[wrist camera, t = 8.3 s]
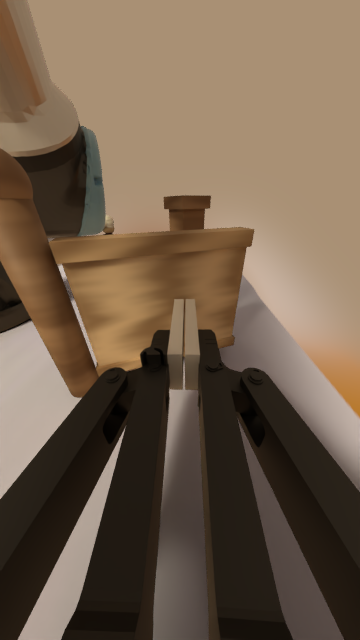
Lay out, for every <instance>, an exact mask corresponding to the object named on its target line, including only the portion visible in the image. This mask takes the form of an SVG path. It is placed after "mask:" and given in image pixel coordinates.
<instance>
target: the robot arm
mask: <svg viewBox="0 0 360 640" xmlns="http://www.w3.org/2000/svg"><path fill="white" fill-rule="evenodd" d="M0 148H1V149H3V150H4V151H6V152H7V153H8V154H10V155H11V156H12V157H13V158H14V159H15V160H16V161H17V162H18V163H19V164H20V165H21V166H22V168H23V169H24V170H25V172H26V174H27V175H28V177H29V179H30V182H31V185H32V189H33V202H34V204H35V207H36V210H37V212H38V215H39V218H40V220H41V223H42V226H43V228H44V231H45V234H46V236H47V238H61V237H79V236H86V235H94V234H98V233H100V232H102V231H103V229H104V227H105V221H106V214H105V198H104V188H103V184H102V169H101V161H100V155H99V149H98V144H97V140H96V136H95V134H94V133H93V131H91V130H89V129H87V128H86V127H84V126H81V127H80V124H79V120H78V115H77V112H76V109H75V108H74V105H73V103H72V102H71V101H70V99H69V98H68V97H67V96H66V95H65V94H64V93H63V92H62V91H61V90H60V89H59V88H58V87H57V86H56V85H55V84H54V83H53V82H52V81H51V79H50V75H49V72H48V68H47V65H46V62H45V59H44V55H43V52H42V48H41V45H40V42H39V38H38V35H37V32H36V28H35V26H34V22H33V18H32V15H31V12H30V8H29V5H28V2H27V0H0ZM28 319H30V316H29V314H28V312H27V310H26V308H25V306H24V304H23V303H22V301H21V299H20V297H19V295H18V293H17V291H16V289H15V288H14V286H13V284H12V282H11V280H10V278H9V276H8V274H7V273H6V271H5V269H4V267H3V265H2V263H1V261H0V332H2V331H4V330H7V329H9V328H12V327H14V326H16V325H18V324H20V323H22V322H24V321H26V320H28ZM183 354H184V299H174V307H173V314H172V322H171V329H170V330H157V331H156V332H155V333H154V335H153V338H152V342H151V346H150V347H148V348H145V349H144V350H143V351H142V352H141V353H140V359H141V364H142V367H140V368H138V369H136V370H133V371H129V372H126V371H125V370H124V369H122V368H120V367H114V368H110V369H108V370H106V371H105V372H103V373H102V374H101V375H100V377H99V378H98V379H97V380H96V382H95V383H94V384H93V385H92V387H91V388H90V389H89V390H88V392H87V393H86V394H85V395H84V396H83V398H82V399H81V400H80V401H79V403H78V404H77V405H76V406H75V408H74V409H73V410H72V411H71V413H70V414H69V415H68V416H67V418H66V419H65V420H64V421H63V422H62V424H61V425H60V426H59V427H58V429H57V430H56V431H55V432H54V434H53V435H52V436H51V437H50V439H49V440H48V441H47V442H46V444H45V445H44V446H43V447H42V448H41V450H40V451H39V452H38V453H37V455H36V456H35V457H34V458H33V460H32V461H31V462H30V463H29V465H28V466H27V467H26V468H25V470H24V471H23V472H22V473H21V475H20V476H19V477H18V478H17V479H16V481H15V482H14V483H13V484H12V486H11V487H10V488H9V489H8V491H7V492H6V493H5V494H4V496H3V497H2V498H1V499H0V640H18V638H19V636H20V634H21V632H22V630H23V628H24V626H25V624H26V622H27V620H28V618H29V616H30V614H31V612H32V610H33V608H34V606H35V604H36V602H37V600H38V598H39V596H40V594H41V592H42V590H43V588H44V586H45V584H46V582H47V580H48V578H49V576H50V574H51V572H52V571H53V569H54V567H55V565H56V563H57V561H58V559H59V557H60V555H61V553H62V551H63V549H64V547H65V545H66V543H67V541H68V539H69V537H70V535H71V533H72V531H73V529H74V527H75V525H76V523H77V521H78V519H79V517H80V515H81V513H82V511H83V509H84V507H85V505H86V503H87V501H88V499H89V498H90V496H91V494H92V492H93V490H94V488H95V486H96V484H97V482H98V480H99V478H100V476H101V474H102V472H103V470H104V468H105V466H106V464H107V462H108V460H109V458H110V456H111V454H112V452H113V450H114V448H115V446H116V444H117V442H118V440H119V438H120V436H121V434H122V432H123V430H124V428H125V427H126V428H125V432H124V436H123V439H122V443H121V447H120V451H119V454H118V458H117V462H116V466H115V469H114V473H113V477H112V481H111V484H110V488H109V492H108V496H107V499H106V503H105V507H104V511H103V514H102V518H101V522H100V526H99V529H98V533H97V537H96V541H95V544H94V548H93V552H92V556H91V560H90V563H89V567H88V571H87V575H86V578H85V582H84V586H83V590H82V593H81V596H80V599H79V602H78V605H77V607H76V610H75V612H74V614H73V616H72V618H71V620H70V621H69V623H68V625H67V627H66V629H65V631H64V634H63V636H62V639H61V640H153V606H154V592H155V579H156V566H157V553H158V540H159V527H160V514H161V502H162V489H163V476H164V463H165V450H166V437H167V424H168V411H169V388H170V389H173V390H183ZM185 390H198V407H199V426H200V446H201V467H202V487H203V508H204V529H205V549H206V570H207V590H208V614H209V640H293V638H292V636H291V634H290V632H289V629H288V627H287V625H286V623H285V620H284V617H283V613H282V610H281V606H280V602H279V598H278V594H277V590H276V585H275V581H274V577H273V572H272V568H271V563H270V559H269V555H268V550H267V546H266V542H265V537H264V533H263V529H262V524H261V520H260V515H259V511H258V507H257V502H256V498H255V494H254V489H253V485H252V481H251V476H250V472H249V467H248V463H247V459H246V454H245V450H244V446H243V441H242V437H241V433H240V428H239V424H238V420H239V422H240V424H241V426H242V428H243V430H244V432H245V434H246V436H247V438H248V440H249V442H250V445H251V447H252V449H253V451H254V453H255V455H256V457H257V459H258V461H259V463H260V465H261V467H262V470H263V472H264V474H265V476H266V478H267V480H268V482H269V484H270V486H271V488H272V490H273V492H274V494H275V497H276V499H277V501H278V503H279V505H280V507H281V509H282V511H283V513H284V515H285V517H286V519H287V521H288V524H289V526H290V528H291V530H292V532H293V534H294V536H295V538H296V540H297V542H298V544H299V546H300V549H301V551H302V553H303V555H304V557H305V559H306V561H307V563H308V565H309V567H310V569H311V571H312V573H313V576H314V578H315V580H316V582H317V584H318V586H319V588H320V590H321V592H322V594H323V596H324V598H325V600H326V603H327V605H328V607H329V609H330V611H331V613H332V615H333V617H334V619H335V621H336V623H337V625H338V627H339V630H340V632H341V634H342V636H343V638H344V640H360V492H359V491H358V490H357V488H356V487H355V486H354V484H353V483H352V482H351V481H350V479H349V478H348V477H347V476H346V474H345V473H344V472H343V470H342V469H341V468H340V467H339V465H338V464H337V463H336V461H335V460H334V459H333V458H332V456H331V455H330V454H329V453H328V451H327V450H326V449H325V447H324V446H323V445H322V444H321V442H320V441H319V440H318V439H317V437H316V436H315V435H314V433H313V432H312V431H311V430H310V428H309V427H308V426H307V425H306V423H305V422H304V421H303V419H302V418H301V417H300V416H299V414H298V413H297V412H296V411H295V409H294V408H293V407H292V405H291V404H290V403H289V402H288V400H287V399H286V398H285V397H284V395H283V394H282V393H281V391H280V390H279V389H278V388H277V386H276V385H275V384H274V383H273V381H272V380H271V379H270V377H269V376H268V375H267V374H266V373H265V372H263V371H261V370H260V369H256V368H247V369H245V370H244V371H243V372H238V371H234V370H231V369H229V368H227V367H226V366H225V365H224V363H223V362H222V361H221V357H220V353H219V348H218V344H217V340H216V335H215V333H214V332H213V331H212V330H211V329H198V328H197V317H196V306H195V299H186V303H185ZM237 418H238V419H237Z"/></svg>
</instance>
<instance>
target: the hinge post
mask: <svg viewBox="0 0 360 640" xmlns="http://www.w3.org/2000/svg"><path fill="white" fill-rule="evenodd" d="M0 261H1V263H2V265H3V267H4V269H5V271H6V273H7V274H8V276H9V278H10V280H11V282H12V284H13V286H14V288H15V289H16V291H17V293H18V295H19V297H20V299H21V301H22V303H23V304H24V306H25V308H26V310H27V312H28V314H29V316H30V318H31V319H32V321H33V323H34V325H35V327H36V329H37V331H38V333H39V334H40V336H41V338H42V340H43V342H44V344H45V346H46V348H47V349H48V351H49V353H50V355H51V357H52V359H53V361H54V363H55V364H56V366H57V368H58V370H59V372H60V374H61V376H62V378H63V379H64V381H65V383H66V385H67V387H68V389H69V391H70V393H71V394H72V395H73V396H74V397H79V398H80V397H83V396H84V395H85V394H86V393H87V392H88V390H89V389H90V388H91V387H92V385H93V384H94V383H95V382H96V380H97V379H98V378H99V376H98V373H97V370H96V367H95V365H94V362H93V359H92V357H91V354H90V351H89V349H88V346H87V343H86V341H85V338H84V335H83V333H82V330H81V327H80V325H79V322H78V319H77V317H76V314H75V311H74V309H73V306H72V303H71V301H70V298H69V295H68V293H67V290H66V287H65V285H64V282H63V279H62V276H61V274H60V271H59V268H58V266H57V264H56V261H55V258H54V256H53V253H52V250H51V248H50V245H49V242H48V239H47V236H46V234H45V231H44V228H43V226H42V223H41V220H40V218H39V215H38V212H37V210H36V207H35V204H34V202H33V189H32V185H31V182H30V179H29V177H28V175H27V174H26V172H25V170H24V169H23V168H22V166H21V165H20V164H19V163H18V162H17V161H16V160H15V159H14V158H13V157H12V156H11V155H10V154H8V153H7V152H6V151H4V150H3V149H1V148H0Z"/></svg>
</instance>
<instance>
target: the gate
mask: <svg viewBox="0 0 360 640" xmlns="http://www.w3.org/2000/svg"><path fill="white" fill-rule="evenodd" d="M253 234H254V229H249V228H243V227H234V228H217V229H200V230H182V231H166V232H148V233H131V234H113V235H96V236H79V237H61V238H55V239H53V240H52V241H50V242H49V245H50V248H51V250H52V253H53V256H54V258H55V261H56V264H61V263H62V265H63V268H64V271H65V274H66V276H67V279H68V282H69V285H70V287H71V290H72V293H73V296H74V299H75V301H76V304H77V307H78V310H79V313H80V315H81V318H82V321H83V324H84V327H85V329H86V332H87V335H88V338H89V340H90V343H91V346H92V349H93V352H94V354H95V357H96V360H97V366H96V370H97V373H98V376H99V377H100V375H101V374H102V373H103V372H105V371H106V370H108V369H110V368H114V367H120V368H122V369H124V370H125V371H128V370H132V369H136V368H140V367H142V364H141V359H140V353H141V352H142V351H143V350H144V349H145V348H148V347H150V346H151V342H152V338H153V335H154V333H155V332H156V331H157V330H170V329H171V322H172V314H173V307H174V299H184V354H183V357H185V303H186V299H195V306H196V317H197V328H198V329H211V330H212V331H213V332H214V333H215V335H216V340H217V344H218V348H223V347H227V346H231V345H233V344H234V339H235V337H234V336H233V335H232V331H233V325H234V319H235V313H236V307H237V301H238V295H239V289H240V283H241V277H242V271H243V265H244V259H245V253H246V248H247V247H250V246H251V245H252V240H253Z"/></svg>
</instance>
